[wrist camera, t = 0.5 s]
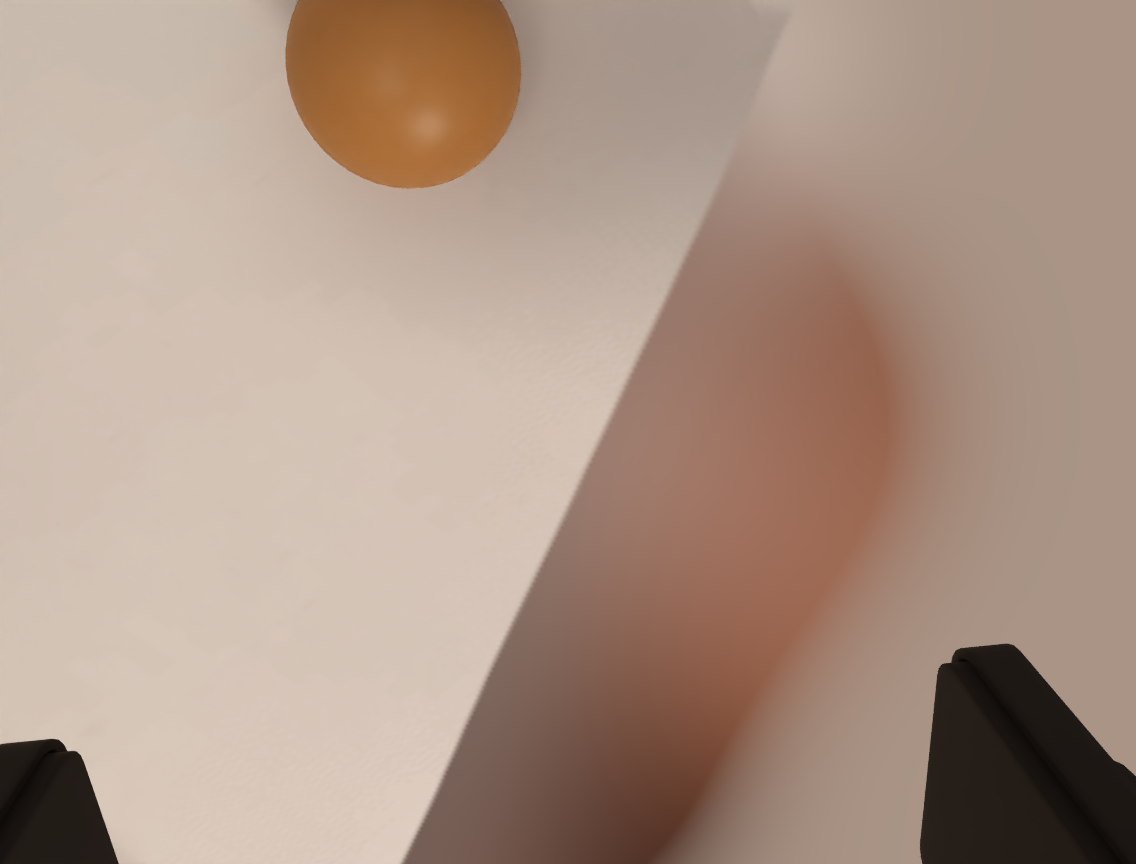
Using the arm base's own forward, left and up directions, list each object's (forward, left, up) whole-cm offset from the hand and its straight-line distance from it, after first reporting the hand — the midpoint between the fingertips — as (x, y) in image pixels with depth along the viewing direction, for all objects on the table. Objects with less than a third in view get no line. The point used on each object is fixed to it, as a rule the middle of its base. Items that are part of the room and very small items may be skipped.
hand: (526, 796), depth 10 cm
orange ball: (-7, 0, -20) cm, 21 cm away
